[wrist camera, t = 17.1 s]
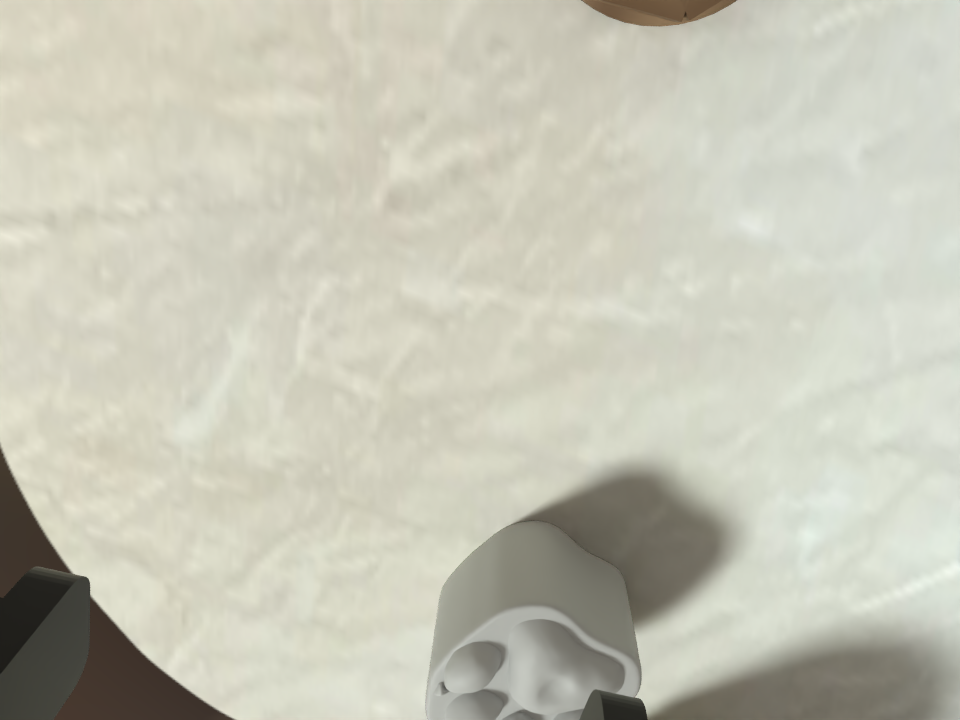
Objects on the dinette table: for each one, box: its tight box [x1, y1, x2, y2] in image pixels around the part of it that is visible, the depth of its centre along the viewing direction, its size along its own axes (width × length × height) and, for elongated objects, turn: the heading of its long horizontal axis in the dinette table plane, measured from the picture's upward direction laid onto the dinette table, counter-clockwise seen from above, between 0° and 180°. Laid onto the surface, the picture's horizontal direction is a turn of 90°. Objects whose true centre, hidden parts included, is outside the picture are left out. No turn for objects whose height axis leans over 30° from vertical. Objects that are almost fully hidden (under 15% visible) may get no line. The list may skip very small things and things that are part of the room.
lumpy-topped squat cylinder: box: [425, 521, 642, 720], centre depth 43 cm, size 10×13×9 cm
